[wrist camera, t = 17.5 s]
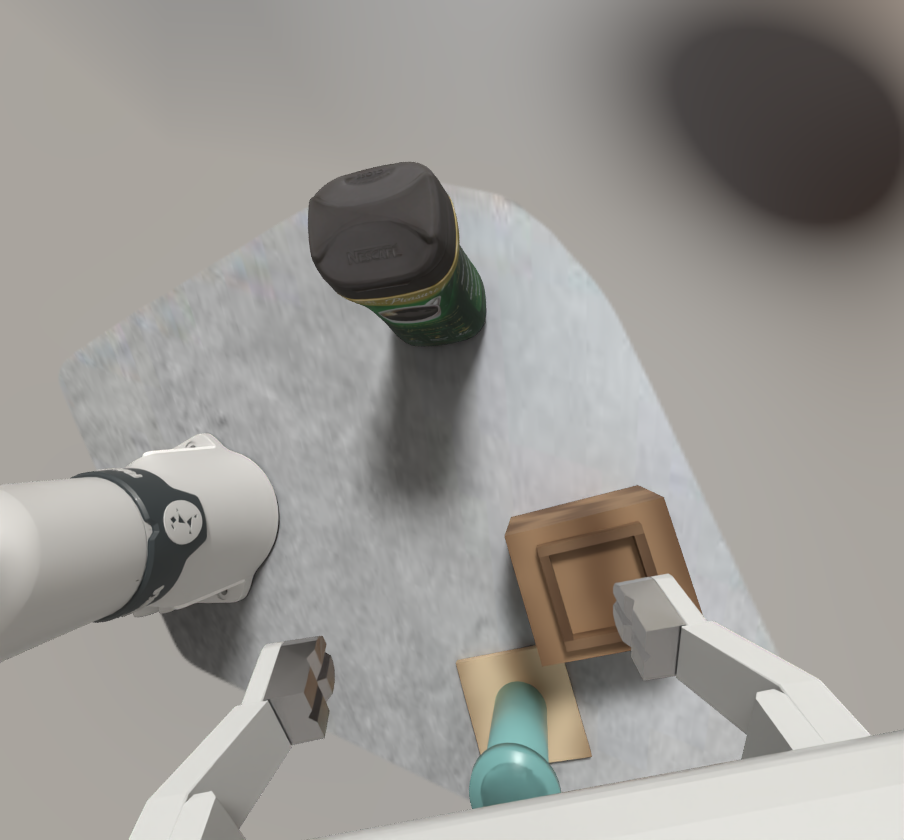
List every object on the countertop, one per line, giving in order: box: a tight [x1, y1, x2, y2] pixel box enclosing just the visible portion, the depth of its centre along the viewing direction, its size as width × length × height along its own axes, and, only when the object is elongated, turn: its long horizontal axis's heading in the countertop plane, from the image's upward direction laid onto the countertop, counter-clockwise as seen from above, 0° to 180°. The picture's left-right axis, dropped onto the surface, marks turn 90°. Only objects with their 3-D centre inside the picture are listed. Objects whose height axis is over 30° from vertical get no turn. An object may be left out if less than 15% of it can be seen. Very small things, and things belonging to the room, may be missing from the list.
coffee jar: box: [308, 162, 486, 346], centre depth 34 cm, size 10×8×19 cm
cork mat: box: [456, 645, 592, 763], centre depth 39 cm, size 10×10×1 cm
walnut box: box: [505, 485, 703, 667], centre depth 34 cm, size 12×10×9 cm
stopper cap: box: [469, 681, 561, 809], centre depth 34 cm, size 6×6×10 cm
